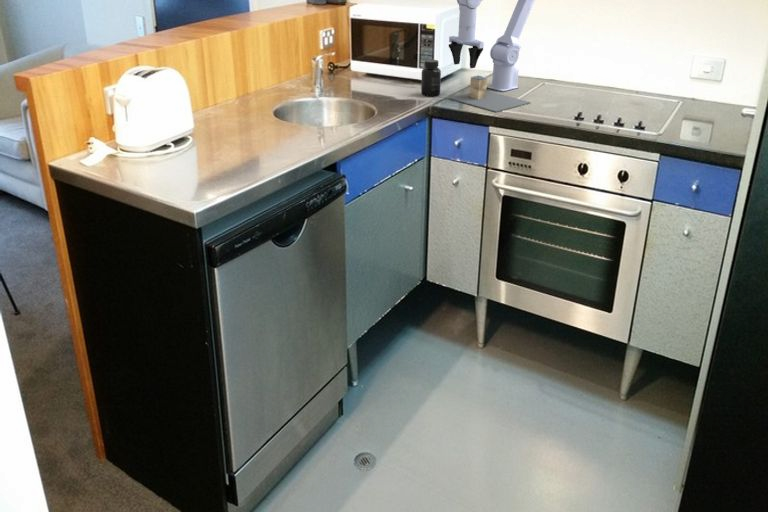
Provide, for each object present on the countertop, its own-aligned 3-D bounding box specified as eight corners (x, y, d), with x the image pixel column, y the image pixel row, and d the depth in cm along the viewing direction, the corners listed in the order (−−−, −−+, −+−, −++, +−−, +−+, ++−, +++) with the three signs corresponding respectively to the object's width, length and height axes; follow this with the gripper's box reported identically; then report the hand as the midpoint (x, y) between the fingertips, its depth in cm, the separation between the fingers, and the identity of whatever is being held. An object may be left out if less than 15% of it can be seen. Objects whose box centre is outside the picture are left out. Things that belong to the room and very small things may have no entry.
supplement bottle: (440, 92, 258) (441, 59, 252) (439, 97, 252) (441, 63, 246) (421, 91, 258) (422, 58, 253) (420, 96, 252) (421, 62, 247)
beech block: (477, 95, 254) (478, 75, 250) (485, 97, 251) (487, 77, 248) (469, 96, 251) (470, 77, 248) (478, 99, 249) (479, 79, 245)
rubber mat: (482, 90, 261) (482, 89, 261) (530, 103, 246) (530, 102, 246) (448, 98, 250) (448, 97, 250) (496, 112, 236) (496, 111, 235)
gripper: (443, 24, 248) (441, 63, 254) (475, 30, 238) (472, 71, 245) (457, 22, 252) (455, 61, 259) (488, 28, 243) (485, 68, 249)
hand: (464, 66), depth 252 cm, fingers open, 7 cm apart
